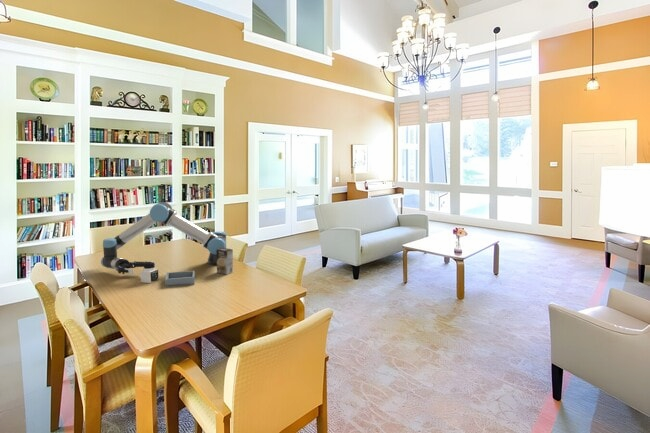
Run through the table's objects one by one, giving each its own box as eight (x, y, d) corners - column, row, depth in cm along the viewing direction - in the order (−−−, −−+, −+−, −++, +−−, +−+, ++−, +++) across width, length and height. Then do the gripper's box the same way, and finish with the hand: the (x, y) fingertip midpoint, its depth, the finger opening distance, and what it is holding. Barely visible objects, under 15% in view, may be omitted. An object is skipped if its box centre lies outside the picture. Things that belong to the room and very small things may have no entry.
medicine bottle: (151, 283, 217) (150, 264, 215) (140, 282, 218) (139, 263, 216) (158, 279, 224) (158, 261, 222) (148, 278, 225) (147, 260, 223)
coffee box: (216, 272, 240) (215, 249, 238) (222, 270, 246) (222, 247, 243) (227, 274, 236) (226, 251, 234) (233, 272, 242) (233, 249, 240)
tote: (194, 277, 229) (194, 270, 229) (194, 284, 216) (194, 277, 215) (167, 279, 224) (167, 272, 223) (165, 286, 211) (165, 279, 210)
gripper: (138, 265, 243) (160, 269, 234) (101, 275, 221) (123, 280, 211) (137, 254, 242) (159, 258, 233) (100, 263, 220) (123, 268, 210)
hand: (142, 269), depth 222 cm, fingers open, 13 cm apart
